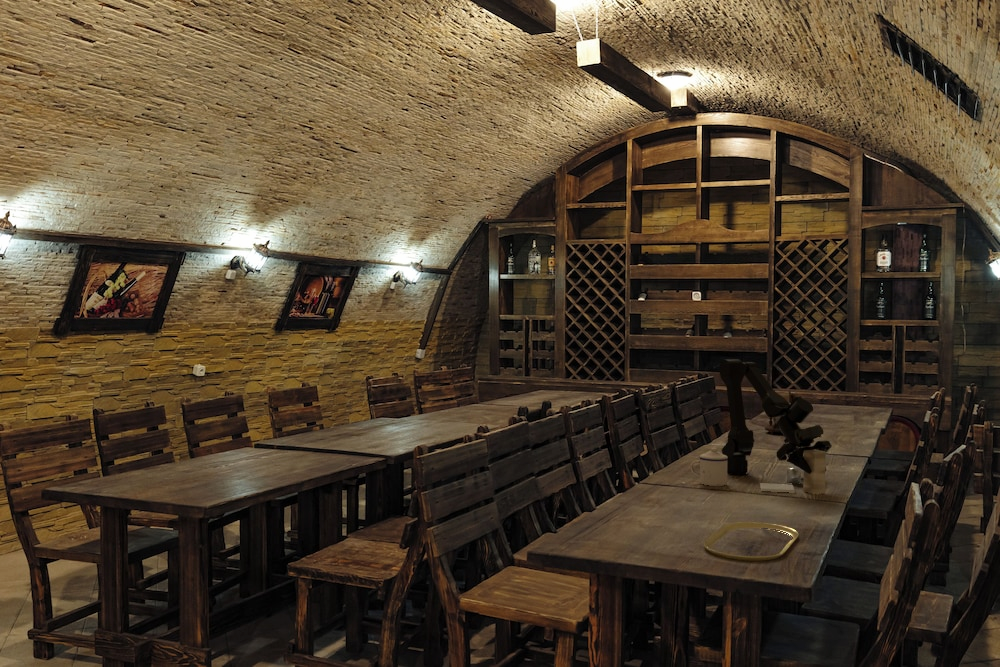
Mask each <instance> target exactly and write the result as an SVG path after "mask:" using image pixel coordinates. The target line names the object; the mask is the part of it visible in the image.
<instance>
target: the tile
mask: <svg viewBox="0 0 1000 667" xmlns="http://www.w3.org/2000/svg"><path fill="white" fill-rule="evenodd" d="M759 488H761V489H760V492H761V491H771V492H770V493H777V492H789V493H788V494H795V493H796V490H795V488H794V485H792V484H787V483H786V484H783V483H766V482H760V483H759Z"/></svg>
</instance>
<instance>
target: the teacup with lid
mask: <svg viewBox="0 0 1000 667" xmlns="http://www.w3.org/2000/svg"><path fill="white" fill-rule="evenodd" d="M727 460H728V457H727V456H726V455H723V454H722V452H720V451H718V448H716V447H710V450H709V451H706V452H705V453H702V454H700V456H699V460H698V459H697V460H693V461H692V462H691V463H690V471H691V472H692V474H693V475H694V476H697V477H699V483H700V485H703V484H704V485H703V486H707V485H709V486H708V487H724V485H725V486H726V485H728V474H727ZM695 463H697V464H700V465H699V473H698V472H696V471H695V469H694V464H695Z"/></svg>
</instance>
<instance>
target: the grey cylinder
mask: <svg viewBox="0 0 1000 667" xmlns="http://www.w3.org/2000/svg"><path fill="white" fill-rule="evenodd" d="M787 483H792V484H799V483H801V484H802V478H801V469H800V468H798V467H792V466H789V467H786V484H787ZM792 484H791V485H792Z"/></svg>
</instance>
